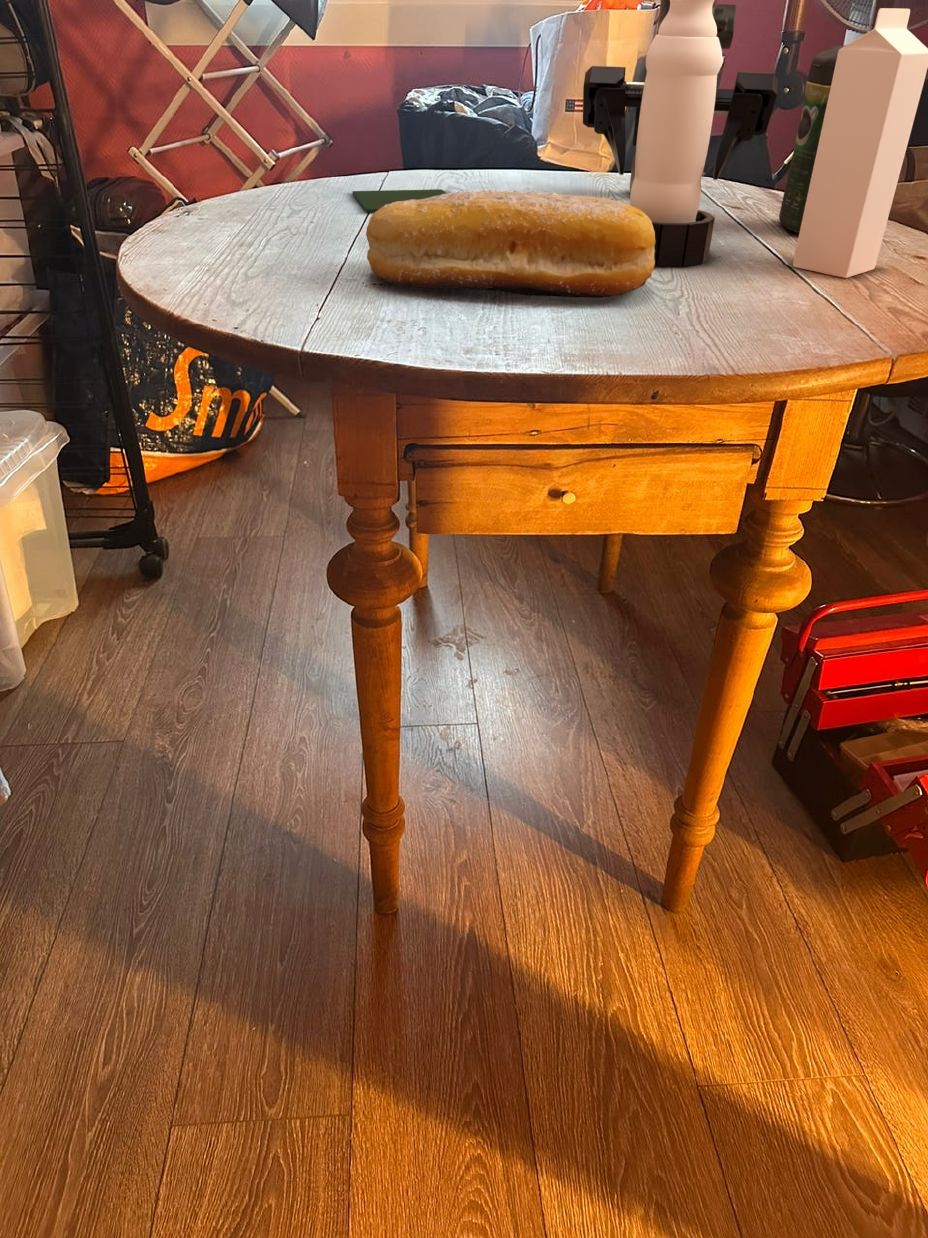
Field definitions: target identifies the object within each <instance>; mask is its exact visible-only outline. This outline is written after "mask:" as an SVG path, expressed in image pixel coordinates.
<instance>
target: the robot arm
mask: <svg viewBox="0 0 928 1238" xmlns="http://www.w3.org/2000/svg"><path fill="white" fill-rule="evenodd" d="M659 2H660V4H659V10H658V19H657V26H656V27H657V28H656V34H655V36H656V35H658V30H659V27H660V25H661V23H662V21H663V20H664V18H665V17H666V15H667V13H668V11H669V8H670V0H660V1H659ZM737 7H738V5H737V4H718V0H715V1H714V2H713V5H712V15H713V18H714V20H715V23H716V26H717V35H716V37H718V38H719V42H720V46H721V50H729V49H731V47H732V46H731V45H732V42H733V40H734V39H733V38H734V33H735V26H736V17H737V10H738V9H737ZM679 37H680V36H679ZM626 68H627V67H626V66H608V65H607V66H606V65H605V66H604V65H591V66H590V67H589V68H588V70H586V71H585V73H584V80H583V86H582V87H583V92H582V94H583V95H582V124H583V125H584V126H585V127H587V128H591V129H593V130H594V132H595V133H596V134H597V135H603V136H604V138H605V140H606V142H607V144H608V146H609V147H610V149H611V151H612V152H611V153H612V155H613V158H614V161H615V165H616V168H617V171H618V174H619V175H620V176H624V174H625V167H626V166H625V165H626V155H627V154H626V153H627V145H626V143H627V142H626V140H627V139H626V108H636V109H635V110H636V111H635V118H634V119H635V120H634V127H633V128H634V129H633V137H632V147H636V144H637V134H638V125H639V117H640V109H641V102H642V96H643V90H644V84H645V81H642V82H641V81H626ZM646 75H647V73H646V74H645V76H646ZM778 90H779V79H778V77H777V76H776V75H775V73H774V72H766V71H765V72H763V71H739V70H738V71H737V74H736V78H735V82H734V86H733V89H730V88H716V97H715V106H714V113H713V115H725V116H726V120H725V124H724V127H723V131H722V135H721V139H720V143H719V146H718V151H717V154H716V158H715V162H714V166H713V175H712V180H713V181H718V179H719V177H720V176H721V174H722V172H723V170H724V168H725V166H726V164H727V162H728V160H729V159H730V157H731V156H732V154H733V153H734V151H735V150H736V149H737V148H738V146H740V144H741V143H742V142H748V141H751V140H752V139H754V136H757V137H758V136H762V135H763V134H765V133H767V131H768V127H769V124H770V120H771V117H772V113H773V111H774V107H775V104H776V100H777V96H778V92H779V91H778ZM635 156H636V154H635V155H634V156H633V157H632V163H631V170H630V179H629V192H630V193H631V188H632V184H633V180H634V178H635Z"/></svg>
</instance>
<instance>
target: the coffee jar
mask: <svg viewBox="0 0 928 1238" xmlns="http://www.w3.org/2000/svg"><path fill="white" fill-rule="evenodd" d="M846 45H847V44H845V45H835V46H828V47H826V48H825V49H824V50H823V51H821V52H819V53H817V54H816V55H814V57H813V58H812V60H811V63H810V67H809V71H808V74H807V78H806V79H807V81H806V84H805V89H804V97H803V104H802V110H801V114H800V118H799V119H800V120H799V125H798V129H797V133H796V138H795V143H794V147H793V151H792V152H793V153H792V157H791V162H790V166H789V170H788V175H787V177H786V178H787V179H786V183H785V187H784V191H783V196H782V201H781V205H780V208H779V209H780V210H779V215H778V219H779V222H780V223H781V225H782V226H783V227H785V228H787V230H790V231H792V232H794V233H797V234H799V233H800V228H801V224H802V219H803V214H804V210H805V205H806V200H807V196H808V191H809V186H810V182H811V177H812V172H813V168H814V163H815V158H816V154H817V149H818V144H819V140H820V135H821V130H822V126H823V121H824V116H825V112H826V107H827V102H828V98H829V93H830V88H831V84H832V79H833V74H834V70H835V65H836V60H837V56H838V51H839V49H841V48H843V47H844V46H846Z"/></svg>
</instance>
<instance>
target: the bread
mask: <svg viewBox="0 0 928 1238" xmlns="http://www.w3.org/2000/svg"><path fill="white" fill-rule="evenodd" d="M365 237H366V240H367V244H368V247H369V248H368V250H367V252H366V253H367V254H366V259H367V262H368V264H369V267H370V269H371V270H372V272H373V273H374V274H375V275H376V276H377V277H378V278H380V279H381V280H383V281H385V282H387V283H390V284H393V285H396V286H397V285H398V286H406V287H414V288H421V289H422V288H423V289H442V288H443V289H444V288H445V289H446V288H447V289H448V288H451V289H452V288H453V289H466V290H476V291H477V290H478V291H479V290H480V291H493V292H501V293H506V294H507V293H508V294H515V295H520V296H529V297H531V296H532V297H555V298H556V297H557V298H583V299H584V298H586V299H587V298H588V299H604V298H613V297H617V296H621V295H625V294H627V293H629V292H633V291H635V290H638V289H639V288H641V287H643V286H645V284H646V282H647V280H649V279H650V278H651V277H652V273H653V271H654V268H655V267H654V265H655V260H654V253H655V250H654V245H655V231H654V228H653V225H652V221H651V220H650V218H649V217H648V216H647V215H646V214H645V213H644V212H642V211H641V210H640V209H638V208H636V207H634V206H632V205H630V203H628V202H625V201H621V200H615V199H609V198H604V197H600V196H599V197H598V196H588V195H575V194H574V195H573V194H559V193H557V192H551V193H540V192H535V191H527V192H525V191H523V192H522V191H517V190H514V191H508V190H507V191H499V190H492V189H488V190H485V189H482V190H480V191H468V189H466V190H460V191H457V192H451V191H449V192H448V193H447V194H442V195H439V196H433V197H430V198H425V199H419V200H413V199H411V200H406V201H397V202H392V203H391V204H386V205H385V206H383V207H382V208H380V209H379V210H377V211H376V212H375V213H372V215H371V216H370V218H369V220H368V224H367V226H366V231H365Z"/></svg>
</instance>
